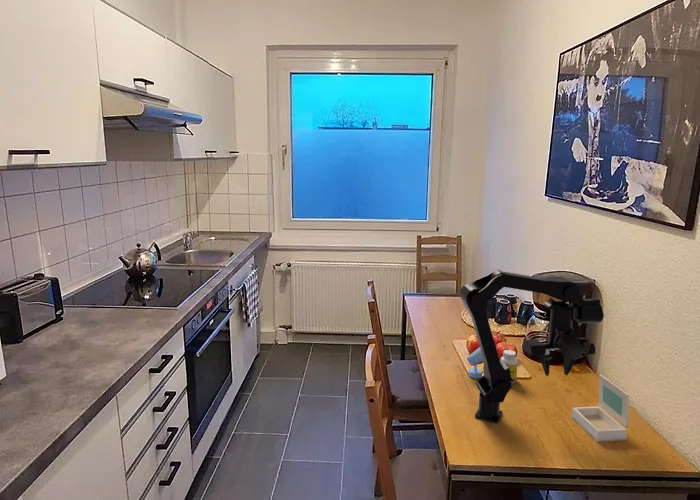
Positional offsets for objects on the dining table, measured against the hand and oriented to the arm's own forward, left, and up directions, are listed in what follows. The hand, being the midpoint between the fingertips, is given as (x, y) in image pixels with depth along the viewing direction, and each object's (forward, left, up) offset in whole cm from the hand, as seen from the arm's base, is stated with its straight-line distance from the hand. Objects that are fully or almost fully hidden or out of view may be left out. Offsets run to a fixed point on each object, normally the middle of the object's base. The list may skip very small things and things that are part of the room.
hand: (556, 375), depth 134 cm
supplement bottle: (+16, +16, -12) cm, 26 cm away
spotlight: (+14, +26, -12) cm, 32 cm away
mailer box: (-2, -12, -12) cm, 17 cm away
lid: (0, -14, -4) cm, 15 cm away
